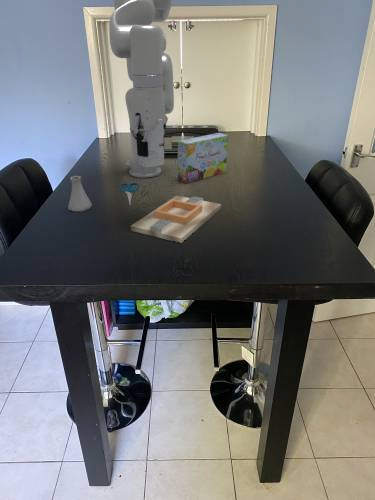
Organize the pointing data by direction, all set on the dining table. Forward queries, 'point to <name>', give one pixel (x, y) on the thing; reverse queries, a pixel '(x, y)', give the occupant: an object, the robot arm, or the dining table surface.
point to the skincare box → (154, 147)
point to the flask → (78, 196)
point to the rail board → (176, 218)
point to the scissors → (129, 190)
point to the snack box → (202, 157)
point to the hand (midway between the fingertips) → (151, 152)
